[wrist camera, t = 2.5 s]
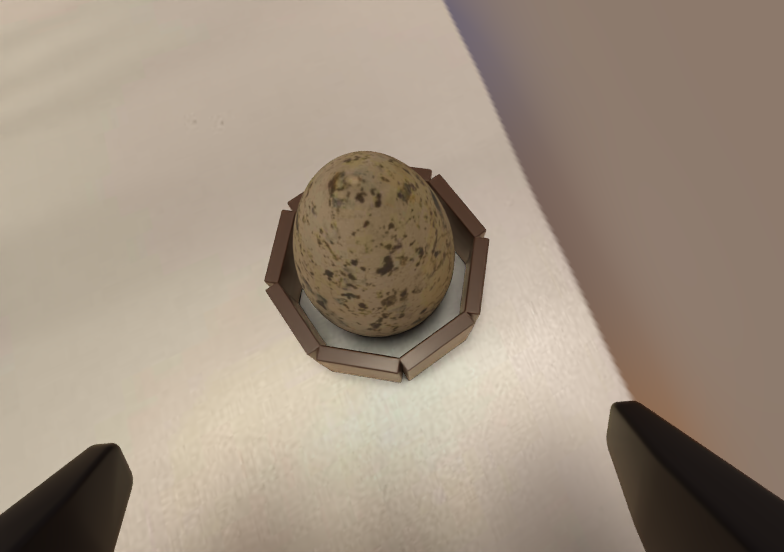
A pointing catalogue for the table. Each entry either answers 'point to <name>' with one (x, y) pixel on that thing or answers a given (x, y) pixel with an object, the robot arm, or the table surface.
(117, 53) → the table surface
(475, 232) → the egg holder
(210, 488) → the table surface
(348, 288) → the decorative egg
